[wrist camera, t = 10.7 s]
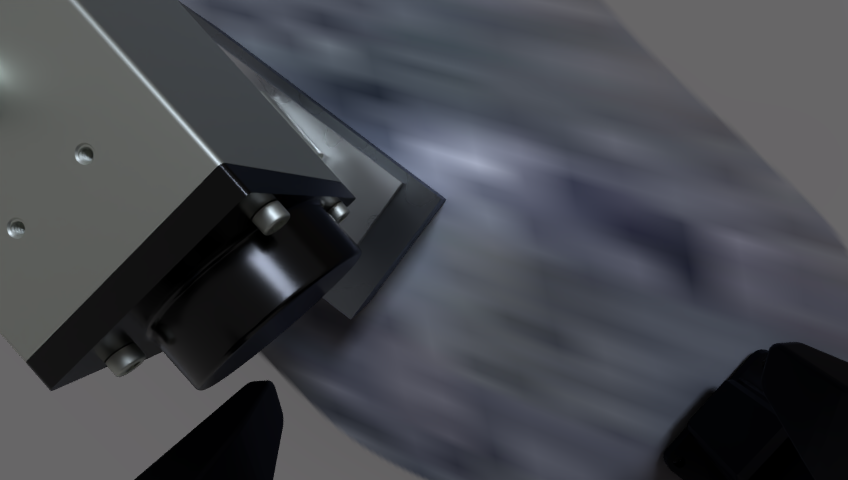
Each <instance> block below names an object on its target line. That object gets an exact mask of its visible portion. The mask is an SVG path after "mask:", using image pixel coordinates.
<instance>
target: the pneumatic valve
mask: <svg viewBox="0 0 848 480" xmlns="http://www.w3.org/2000/svg"><path fill="white" fill-rule="evenodd" d="M322 158H323V154H322V152H321V151H320V150H319V149H318V148H317V147H316V146H315V145H314V144H313V142H312V141H311V140H310V139H309V138H308V137H307V136H306V135H305V134H304V133H303V131H302V130H301V129H300V128H299V127H298V126H297V125H296V124H295V123H294V121H293V120H292V119H291V118H290V117H289V116H288V115H287V114H286V113H285V111H284V110H283V109H282V108H281V107H280V106H279V105H278V104H277V103H276V101H275V100H274V99H273V98H272V97H271V96H270V95H269V94H268V93H267V92H266V91H259V90H258V89H257V88H256V87H255V86H254V85H253V83H252V82H251V81H250V80H249V79H248V78H247V77H246V76H245V75H244V73H243V72H242V71H241V70H240V69H239V68H238V67H237V66H236V65H235V63H234V62H233V61H232V60H231V59H230V58H229V57H228V56H227V55H226V53H225V52H224V51H223V50H222V49H221V48H220V47H219V46H218V45H217V44H216V42H215V41H214V40H213V39H212V38H211V37H210V36H209V35H208V34H207V32H206V31H205V30H204V29H203V28H202V27H201V26H200V25H199V24H198V22H197V21H196V20H195V19H194V18H193V17H192V16H191V15H190V14H189V13H188V11H187V10H186V9H185V8H184V7H183V6H182V5H181V4H180V3H179V1H178V0H0V333H1V335H2V336H3V337H4V338H5V339H6V340H7V342H8V343H9V344H10V345H11V346H12V347H13V348H14V350H15V351H16V352H17V353H18V354H19V355H20V356H21V358H22V359H23V360H24V361H25V362H26V363H27V364H28V366H30V368H31V369H32V370H33V371H34V372H35V374H36V375H37V376H38V377H39V378H40V379H41V380H42V381H43V383H44V384H45V385H46V386H47V387H48V388H49V389H50V390H51V391H53V390H55V389H58V388H60V387H62V386H64V385H66V384H69V383H71V382H73V381H76V380H78V379H80V378H83V377H85V376H87V375H89V374H92V373H94V372H96V371H99V370H101V369H103V368H105V367H108V368H109V369H110V370H111V371H112V372H113V373H114V374H115V375H116V376H117V377H121V376H124V375H126V374H128V373H129V372H131V371H132V370H133V369H135V368H136V367H138V366H139V365H140V364H141V363H142V362H143V361H144V360H145V359H148V358H150V357H152V356H154V355H156V354H158V353H161V352H164V353H165V354H166V355H167V357H168V358H169V359H170V360H171V361H172V362H173V363H174V364H175V366H176V367H177V368H178V369H179V370H180V371H181V372H182V373H183V375H184V376H185V377H186V378H187V379H188V380H189V381H190V382H191V384H192V385H193V386H194V387H195V388H196V389H197V390H205V389H207V388H209V387H211V386H213V385H215V384H216V383H218V382H219V381H221V380H222V379H224V378H225V377H227V376H228V375H229V374H231V373H232V372H234V371H235V370H236V369H237V368H239V367H240V366H242V365H243V364H244V363H245V362H247V361H248V360H249V359H251V358H252V357H253V356H254V355H256V354H257V353H258V352H259V351H261V350H262V349H263V348H264V347H266V346H267V345H268V344H269V343H271V342H272V341H273V340H274V339H275V338H277V337H278V336H279V335H280V334H281V333H282V332H284V331H285V330H286V329H287V328H288V327H290V326H291V325H292V324H293V323H294V322H295V321H296V320H298V319H299V318H300V317H301V316H302V315H303V314H304V313H306V312H307V311H308V310H309V309H310V308H311V307H312V306H313V305H314V304H316V303H317V302H318V301H319V300H320V299H321V298H322V297H323V296H324V295H325V294H326V293H327V292H328V291H329V290H331V289H332V288H333V287H334V286H335V285H336V284H337V283H338V282H339V281H340V280H341V279H342V278H343V277H344V276H345V275H346V274H347V273H348V271H349V270H350V269H351V268H352V267H353V266H354V265H355V264H356V262H357V261H358V260H359V258H360V256H361V254H362V250H361V249H360V247H359V246H358V245H357V244H356V243H355V242H354V241H353V240H352V239H351V237H350V236H349V235H348V234H347V233H346V232H345V231H344V230H343V229H342V227H341V226H340V225H339V223H340V222H342V221H343V220H344V219H345V218H346V217H347V216H348V215H349V213H350V210H349V209H348V208H347V207H348V206H349V205H350V204H351V203H352V202H353V201H354V200H355V199H356V198H355V196H354V195H353V194H352V193H351V192H350V191H349V190H348V189H347V188H346V186H345V185H344V184H343V183H342V182H341V181H340V180H339V179H338V178H337V176H336V175H335V174H334V173H333V172H332V171H331V170H330V169H329V168H328V166H327V165H326V164H325V163H324V162H323V161H322Z"/></svg>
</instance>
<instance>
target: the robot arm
mask: <svg viewBox="0 0 848 480" xmlns="http://www.w3.org/2000/svg"><path fill="white" fill-rule="evenodd" d="M764 359H766V362H765V366H764V367H762V361H763V360H764ZM282 429H283V412H282V409H281V406H280V402H279V399H278V395H277V392H276V389H275V386H274V384H273V383H272V382H271V381H268V380H267V381H254V382H250V383H248V384H247V385H245V386H244V387H243V388H241V389H240V390H239V391H238V392H237V393H236V394H234V395H233V396H232V397H231V398H230V399H229V400H227V401H226V402H225V403H224V404H223V405H221V406H220V407H219V408H218V409H217V410H216V411H214V412H213V413H212V414H211V415H210V416H209V417H207V418H206V419H205V420H204V421H203V422H201V423H200V424H199V425H198V426H197V427H196V428H194V429H193V430H192V431H191V432H190V433H189V434H187V435H186V436H185V437H184V438H183V439H182V440H180V441H179V442H178V443H177V444H176V445H174V446H173V447H172V448H171V449H170V450H169V451H168V452H166V453H165V454H164V455H163V456H162V457H160V458H159V459H158V460H157V461H156V462H155V463H153V464H152V465H151V466H150V467H149V468H147V469H146V470H145V471H144V472H143V473H142V474H140V475H139V476H138V477H137V478H136V479H135V480H273V477H274V472H275V466H276V460H277V455H278V450H279V445H280V439H281V434H282ZM677 456H681V457H682V459H681V461H679V462H677V463H674V462H673V460H674V458H676V457H677ZM664 461H665V463H666V464H667V466H668V467H669V468H670V469H671V470H672V471H673V472H674V473H675V474H677V475H678V476H679V477H681V478H682V479H683V480H848V362H846V361H843V360H841V359H839V358H836V357H834V356H831V355H829V354H827V353H824V352H822V351H820V350H817V349H815V348H812V347H810V346H808V345H805V344H803V343H799V342H788V343H777V344H774V345H772V346H771V347H770V349H769V351H768V350H762V349H761V350H757V351H755V352H754V353H753V354H752V355H751V356H750V357H749V358H748V359H747V360H746V361H745V363H744V364H743V365H742V366H741V367H740V368H739V369H738V370H737V372H736V373H735V374H734V375H733V376H732V377H731V378H730V379H729V380H727V381H724V382H723V384H722V385H721V386H720V387H719V388H718V389H717V390H716V391H715V393H714V394H713V395H712V396H711V397H710V398H709V399H708V400H707V401H706V403H705V404H704V405H703V406H702V407H701V408H700V409H699V410H698V411H697V413H696V414H695V415H694V416H693V417H692V418H691V419H690V420H689V422H688V426H687V427H686V428H685V429H684V431H683V432H682V433H681V434H680V435H679V436H678V437H677V438H676V439H675V441H674V442H673V443H672V444H671V445H670V446H669V447H668V448H667V449H666V451H665V453H664Z"/></svg>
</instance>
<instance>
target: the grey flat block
mask: <svg viewBox="0 0 848 480" xmlns="http://www.w3.org/2000/svg"><path fill="white" fill-rule="evenodd" d="M179 3H180V4H181V5H182V6H183V7H184V8H185V9H186V10H187V11H188V13H189V14H190V15H191V16H192V17H193V18H194V19H195V20H196V21H197V22H198V24H199V25H200V26H201V27H202V28H203V29H204V30H205V31H206V32H207V34H208V35H209V36H210V37H211V38H212V39H213V40H214V41H215V42H216V44H217V45H218V46H219V47H220V48H221V49H222V50H223V51H224V52H225V53H226V55H227V56H228V57H229V58H230V59H231V60H232V61H233V62H234V63H235V65H236V66H237V67H238V68H239V69H240V70H241V71H242V72H243V73H244V75H245V76H246V77H247V78H248V79H249V80H250V81H251V82H252V83H253V85H254V86H255V87H256V88H257V89H258V90H259V91H266V92H267V93H268V94H269V95H270V96H271V97H272V98H273V99H274V100H275V101H276V103H277V104H278V105H279V106H280V107H281V108H282V109H283V110H284V111H285V113H286V114H287V115H288V116H289V117H290V118H291V119H292V120H293V121H294V123H295V124H296V125H297V126H298V127H299V128H300V129H301V130H302V131H303V133H304V134H305V135H306V136H307V137H308V138H309V139H310V140H311V141H312V142H313V144H314V145H315V146H316V147H317V148H318V149H319V150H320V151H321V152H322V154H323V158H322V161H323V162H324V163H325V164H326V165H327V166H328V168H329V169H330V170H331V171H332V172H333V173H334V174H335V175H336V176H337V178H338V179H339V180H340V181H341V182H342V183H343V184H344V185H345V186H346V188H347V189H348V190H349V191H350V192H351V193H352V194H353V195H354V196H355V198H356V199H355V200H354V201H353V202H352V203H351V204H350V205H349V206H348V207H347V208H348V209H349V210H350V213H349V215H348V216H347V217H346V218H345V219H344V220H343V221H342V222H340V223H339V225H340V226H341V227H342V229H343V230H344V231H345V232H346V233H347V234H348V235H349V236H350V237H351V239H352V240H353V241H354V242H355V243H356V244H357V245H358V246H359V247H360V249H361V250H362V254H361V256H360V258H359V260H358V261H357V262H356V264H355V265H354V266H353V267H352V268H351V269H350V270H349V271H348V273H347V274H346V275H345V276H344V277H343V278H342V279H341V280H340V281H339V282H338V283H337V284H336V285H335V286H334V287H333V288H332V289H331V290H329V291H328V292H327V293H326V294H325V295H324V296H323V297H322V298H323V299H325V300H326V301H327V302H328V303H330V304H331V305H332V306H334V307H335V308H336V309H337V310H339V311H340V312H341V313H343V314H344V315H345V316H347V317H348V318H349V319H350V320H351V319H352V318H353V317H354V316H355V315H357V314H358V313H359V312H360V311H361V310H362V309H363V308H364V307H365V306H366V305H367V304H368V303H369V302H370V301H371V299H372V298H373V297H374V295H375V294H376V293H377V291H378V290H379V289H380V287H381V286H382V285H383V283H384V282H385V281H386V279H387V278H388V277H389V275H390V274H391V273H392V271H393V270H394V269H395V267H396V266H397V265H398V263H399V262H400V261H401V259H402V258H403V257H404V255H405V254H406V253H407V251H408V250H409V249H410V247H411V246H412V244H413V243H414V242H415V240H416V239H417V238H418V236H419V235H420V234H421V232H422V231H423V230H424V228H425V227H426V226H427V224H428V223H429V222H430V220H431V219H432V218H433V216H434V215H435V214H436V212H437V211H438V210H439V208H440V207H441V206H442V204H443V203H444V202H445V200H446V199H445V198H444V197H442V196H441V195H440V194H438V193H437V192H436V191H434V190H433V189H432V188H430V187H429V186H428V185H426V184H425V183H424V182H422V181H421V180H420V179H418V178H417V177H416V176H414V175H413V174H412V173H411V172H409V171H408V170H407V169H405V168H404V167H403V166H401V165H400V164H399V163H397V162H396V161H395V160H393V159H392V158H391V157H389V156H388V155H387V154H385V153H384V152H383V151H381V150H380V149H379V148H377V147H376V146H375V145H373V144H372V143H371V142H369V141H368V140H367V139H365V138H364V137H363V136H361V135H360V134H359V133H357V132H356V131H355V130H353V129H352V128H351V127H349V126H348V125H347V124H345V123H344V122H343V121H341V120H340V119H339V118H337V117H336V116H335V115H333V114H332V113H331V112H329V111H328V110H327V109H325V108H324V107H323V106H321V105H320V104H319V103H317V102H316V101H315V100H313V99H312V98H311V97H309V96H308V95H307V94H305V93H304V92H303V91H301V90H300V89H299V88H297V87H296V86H295V85H293V84H292V83H291V82H289V81H288V80H287V79H285V78H284V77H283V76H281V75H280V74H279V73H277V72H276V71H275V70H274V69H272V68H271V67H270V66H268V65H267V64H266V63H264V62H263V61H262V60H260V59H259V58H258V57H256V56H255V55H254V54H252V53H251V52H250V51H248V50H247V49H246V48H244V47H243V46H242V45H240V44H239V43H238V42H236V41H235V40H234V39H232V38H231V37H230V36H228V35H227V34H226V33H224V32H223V31H222V30H220V29H219V28H217V27H216V26H215V25H213V24H212V23H210V22H209V21H207V20H206V19H204V18H203V17H201V16H200V15H198V14H197V13H195V12H194V11H192V10H191V9H190V8H188V7H187V6H185V5H184V4H182V3H181V2H179Z"/></svg>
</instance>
